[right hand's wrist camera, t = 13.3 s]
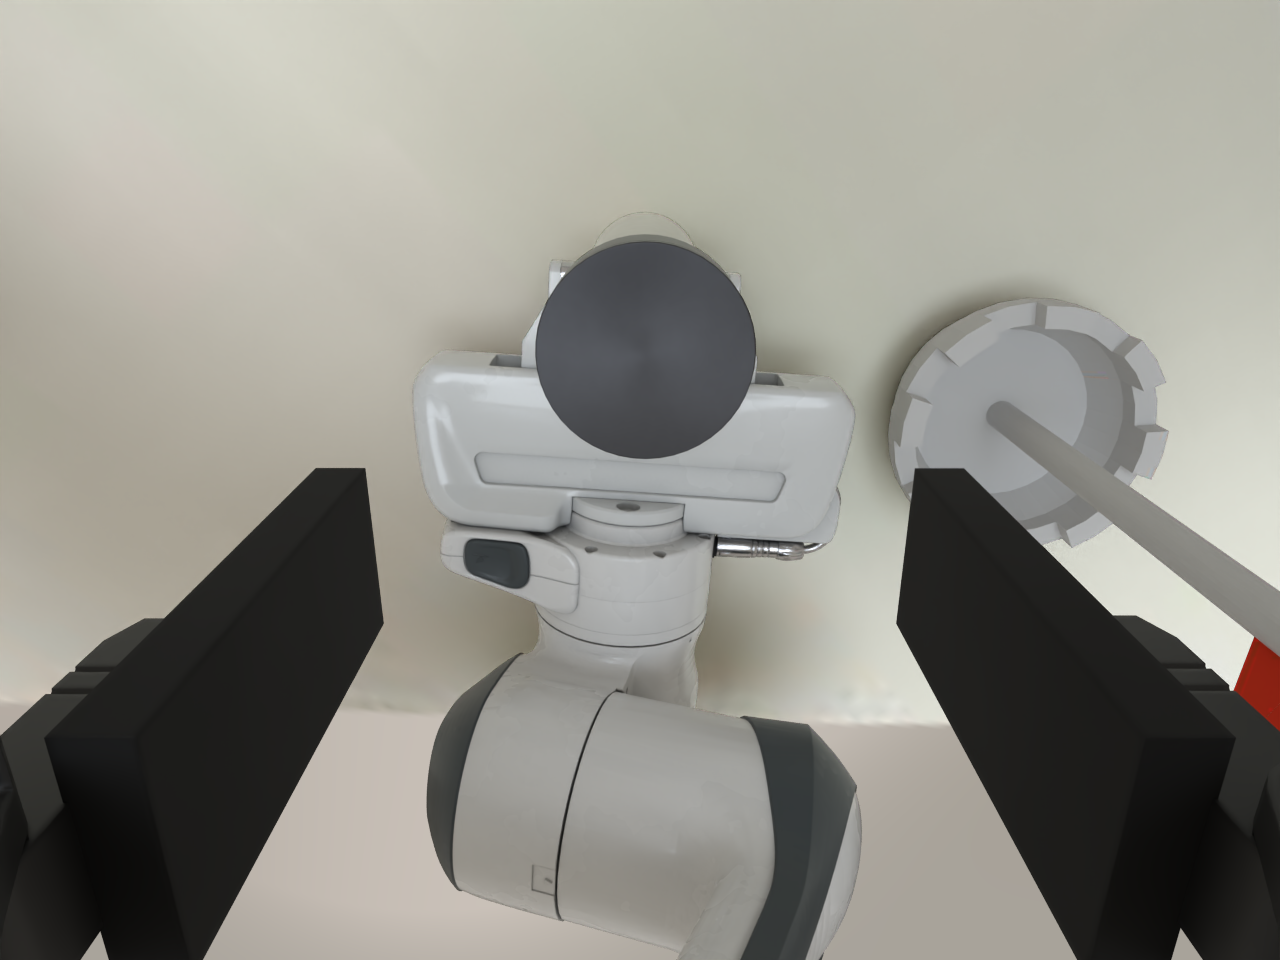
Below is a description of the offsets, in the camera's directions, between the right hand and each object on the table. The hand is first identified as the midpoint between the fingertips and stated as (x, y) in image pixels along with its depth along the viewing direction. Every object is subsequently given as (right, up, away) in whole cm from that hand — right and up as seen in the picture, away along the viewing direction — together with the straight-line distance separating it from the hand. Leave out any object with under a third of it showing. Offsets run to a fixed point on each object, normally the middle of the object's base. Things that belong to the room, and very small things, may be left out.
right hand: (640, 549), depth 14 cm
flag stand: (+19, +5, +34) cm, 40 cm away
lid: (0, +5, +13) cm, 14 cm away
